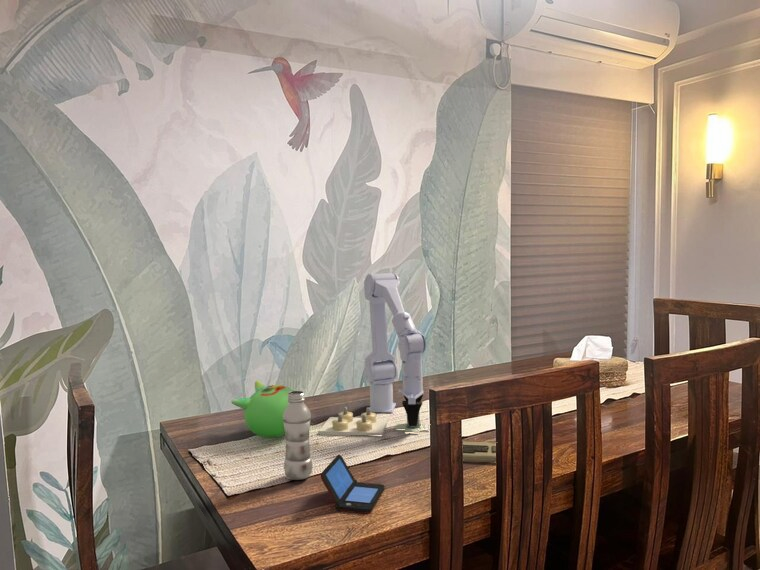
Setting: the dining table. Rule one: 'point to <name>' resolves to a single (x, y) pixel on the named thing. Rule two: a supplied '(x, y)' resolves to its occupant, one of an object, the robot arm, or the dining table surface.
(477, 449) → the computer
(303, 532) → the dining table surface
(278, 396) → the round green creature toy
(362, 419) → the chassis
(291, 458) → the plastic bottle
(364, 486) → the handheld game console
